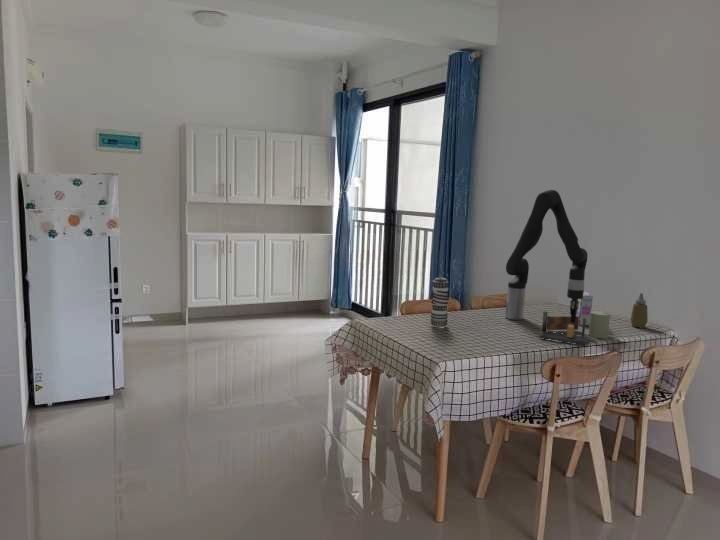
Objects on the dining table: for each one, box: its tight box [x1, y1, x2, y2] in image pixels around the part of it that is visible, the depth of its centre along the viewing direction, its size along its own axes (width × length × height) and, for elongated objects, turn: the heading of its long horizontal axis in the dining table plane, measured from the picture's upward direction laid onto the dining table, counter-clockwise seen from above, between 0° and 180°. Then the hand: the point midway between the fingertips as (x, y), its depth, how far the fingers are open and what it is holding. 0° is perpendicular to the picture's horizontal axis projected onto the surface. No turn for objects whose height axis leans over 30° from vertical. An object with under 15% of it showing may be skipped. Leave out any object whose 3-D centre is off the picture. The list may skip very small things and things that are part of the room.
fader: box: [566, 324, 575, 338], centre depth 264 cm, size 2×5×5 cm, turn 153°
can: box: [588, 310, 611, 339], centre depth 275 cm, size 9×9×12 cm
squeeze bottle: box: [630, 292, 648, 328], centre depth 294 cm, size 8×8×18 cm
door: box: [546, 315, 579, 331], centre depth 283 cm, size 16×2×7 cm, turn 96°
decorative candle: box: [430, 277, 450, 328], centre depth 286 cm, size 9×9×25 cm
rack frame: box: [541, 310, 586, 337], centre depth 278 cm, size 20×2×10 cm, turn 63°
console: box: [539, 330, 588, 347], centre depth 266 cm, size 20×9×2 cm, turn 63°
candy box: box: [576, 290, 593, 327], centre depth 300 cm, size 14×6×16 cm, turn 168°
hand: (573, 322), depth 281 cm, fingers closed
